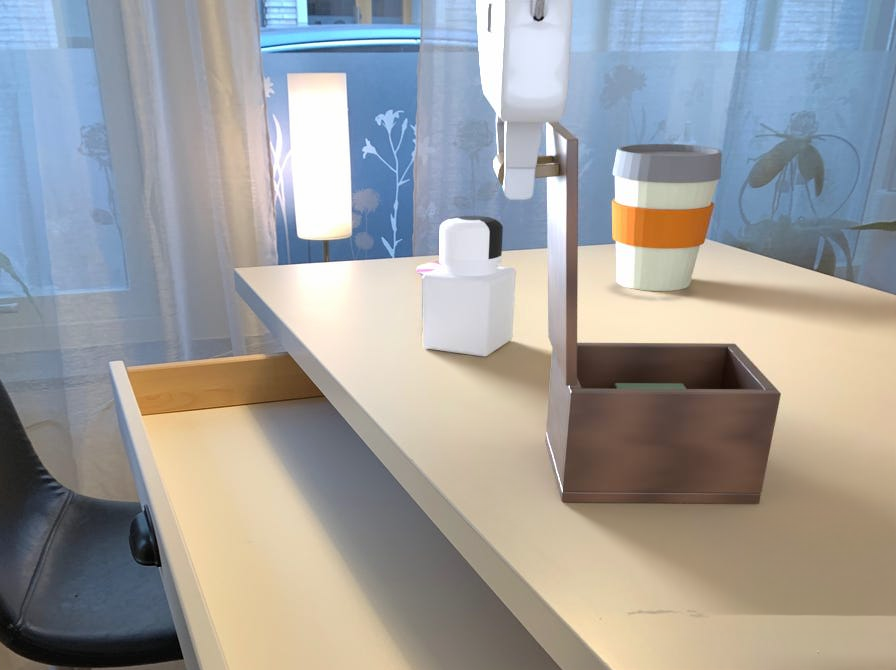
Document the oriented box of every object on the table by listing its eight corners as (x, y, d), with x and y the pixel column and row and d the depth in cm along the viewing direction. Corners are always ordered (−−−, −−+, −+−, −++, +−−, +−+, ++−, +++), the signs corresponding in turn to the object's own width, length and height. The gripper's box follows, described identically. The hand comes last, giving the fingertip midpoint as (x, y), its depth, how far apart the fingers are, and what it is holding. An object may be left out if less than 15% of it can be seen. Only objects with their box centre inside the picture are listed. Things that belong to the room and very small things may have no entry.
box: (718, 443, 80) (735, 343, 76) (759, 504, 70) (781, 393, 66) (545, 441, 80) (552, 342, 76) (561, 502, 70) (571, 391, 66)
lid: (556, 120, 68) (489, 126, 68) (578, 139, 58) (499, 145, 58) (557, 336, 76) (497, 340, 76) (577, 385, 66) (507, 390, 66)
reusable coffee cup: (684, 299, 119) (704, 159, 111) (585, 286, 125) (597, 151, 117) (718, 279, 128) (738, 148, 120) (624, 267, 134) (638, 141, 126)
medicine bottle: (450, 331, 107) (452, 209, 101) (513, 340, 104) (520, 215, 98) (420, 348, 102) (421, 220, 95) (486, 358, 99) (491, 227, 93)
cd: (472, 257, 138) (472, 257, 138) (519, 273, 130) (519, 272, 130) (400, 266, 134) (400, 265, 133) (444, 283, 125) (444, 282, 125)
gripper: (612, -89, 49) (584, 219, 56) (563, -63, 66) (547, 169, 73) (480, -90, 49) (470, 218, 56) (467, -64, 66) (460, 168, 73)
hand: (513, 190), depth 65 cm, fingers closed on lid, 5 cm apart
